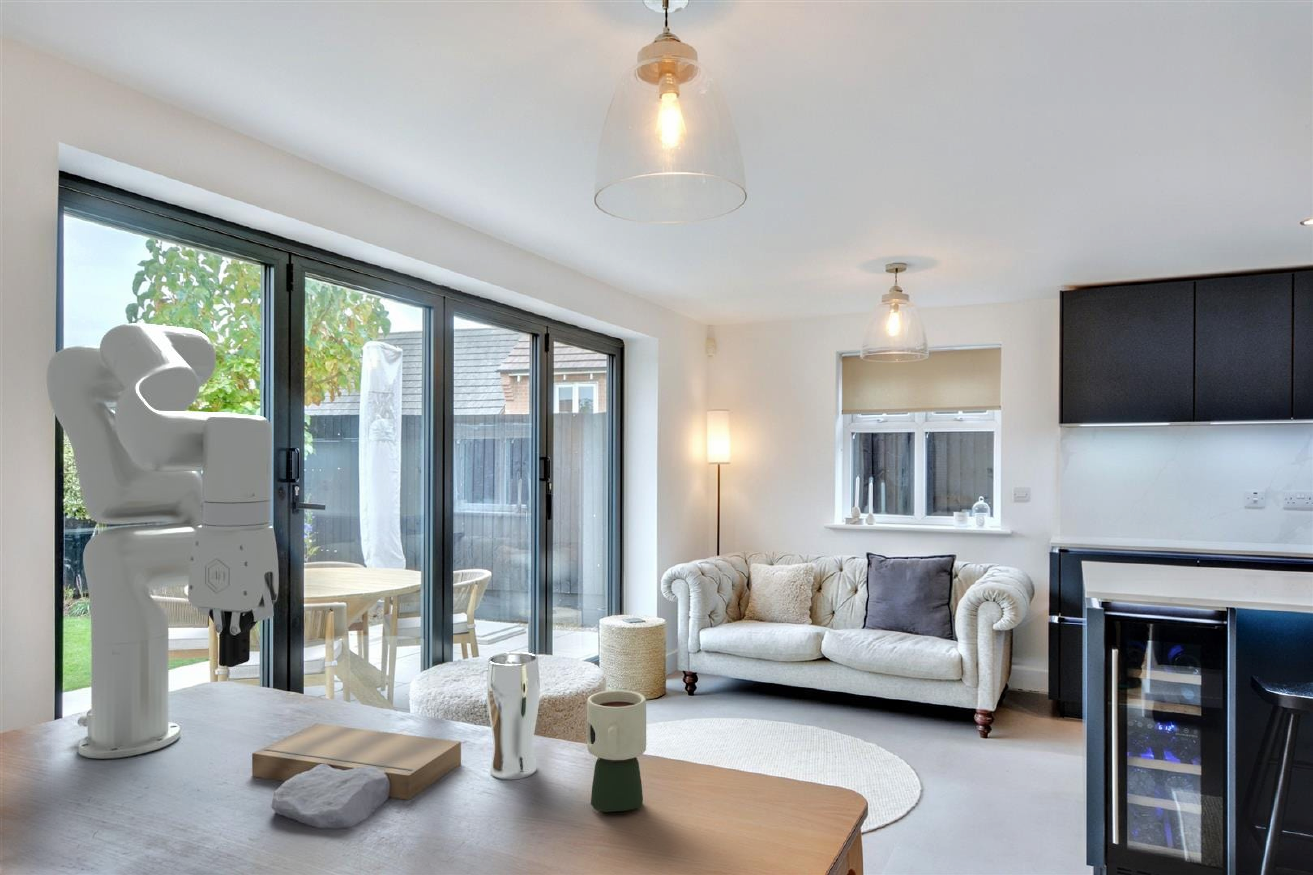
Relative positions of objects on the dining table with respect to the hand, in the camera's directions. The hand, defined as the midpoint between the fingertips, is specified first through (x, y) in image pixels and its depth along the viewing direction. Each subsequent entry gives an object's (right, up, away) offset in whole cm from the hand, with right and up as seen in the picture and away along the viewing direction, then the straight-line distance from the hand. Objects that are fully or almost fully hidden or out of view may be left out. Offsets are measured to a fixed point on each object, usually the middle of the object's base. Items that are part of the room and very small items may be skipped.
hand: (234, 663), depth 102 cm
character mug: (+47, -17, -2) cm, 50 cm away
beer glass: (+33, -17, +8) cm, 38 cm away
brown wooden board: (+12, -17, +9) cm, 22 cm away
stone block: (+13, -17, -3) cm, 22 cm away
